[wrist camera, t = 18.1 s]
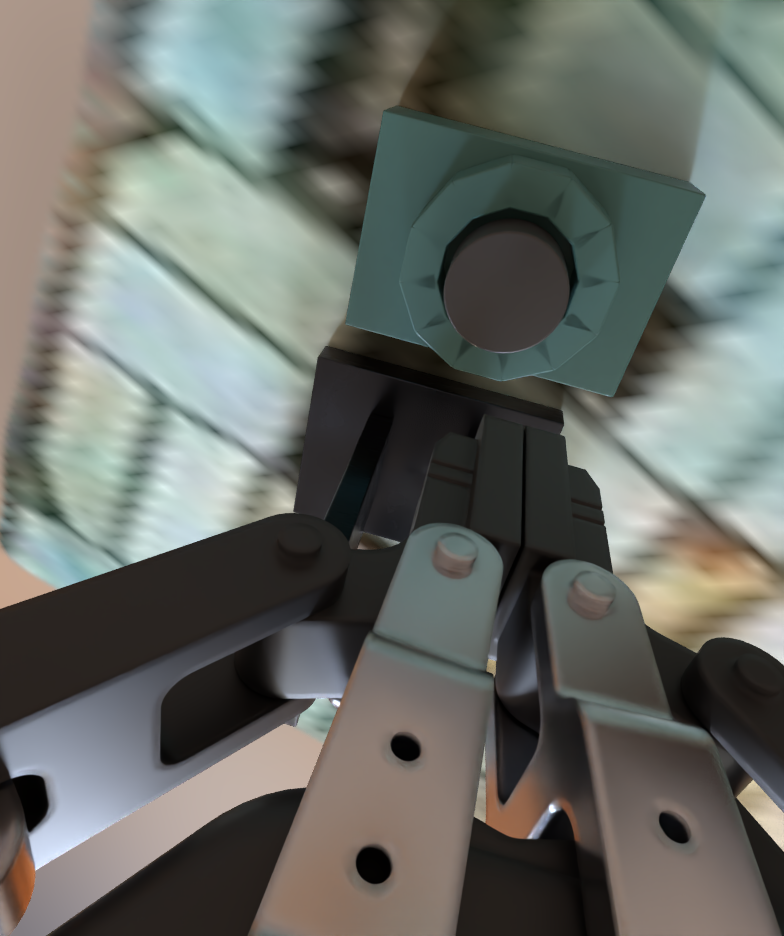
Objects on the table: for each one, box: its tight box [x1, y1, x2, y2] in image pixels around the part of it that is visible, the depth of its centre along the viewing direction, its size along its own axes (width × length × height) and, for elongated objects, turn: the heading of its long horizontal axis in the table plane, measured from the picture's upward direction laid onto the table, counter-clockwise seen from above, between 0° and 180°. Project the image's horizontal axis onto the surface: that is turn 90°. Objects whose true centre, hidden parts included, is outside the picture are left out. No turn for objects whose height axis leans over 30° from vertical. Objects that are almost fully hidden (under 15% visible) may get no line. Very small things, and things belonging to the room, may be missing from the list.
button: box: [444, 218, 570, 353], centre depth 19 cm, size 4×4×2 cm
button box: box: [345, 106, 706, 397], centre depth 21 cm, size 10×7×4 cm
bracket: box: [284, 346, 564, 727], centre depth 23 cm, size 8×10×13 cm
